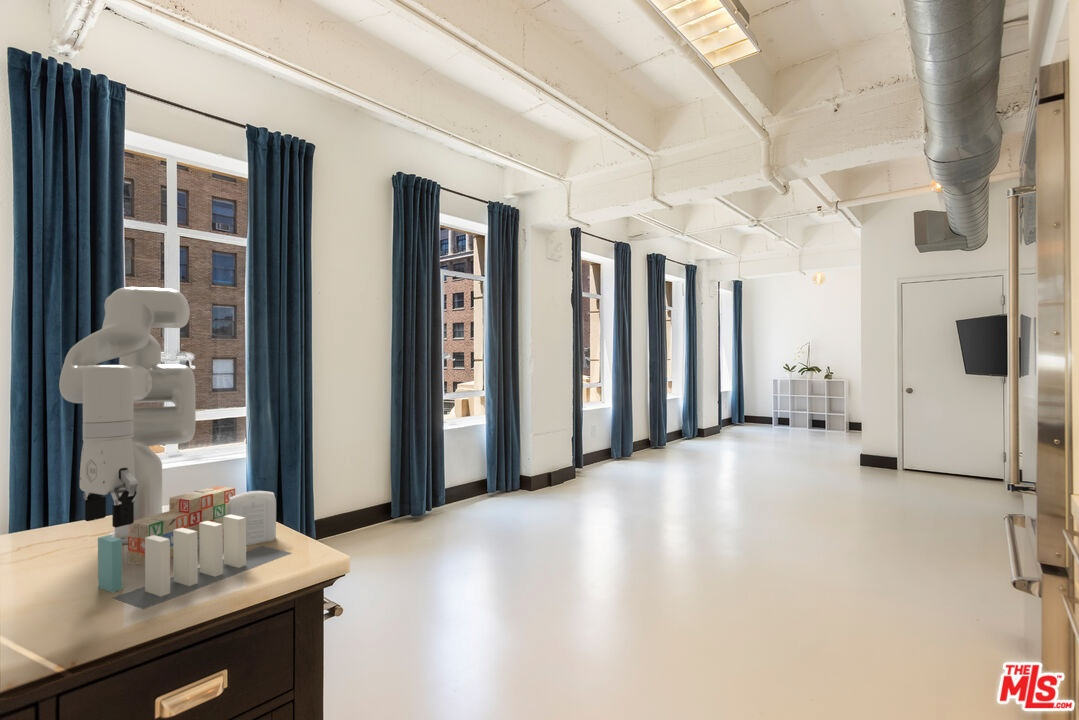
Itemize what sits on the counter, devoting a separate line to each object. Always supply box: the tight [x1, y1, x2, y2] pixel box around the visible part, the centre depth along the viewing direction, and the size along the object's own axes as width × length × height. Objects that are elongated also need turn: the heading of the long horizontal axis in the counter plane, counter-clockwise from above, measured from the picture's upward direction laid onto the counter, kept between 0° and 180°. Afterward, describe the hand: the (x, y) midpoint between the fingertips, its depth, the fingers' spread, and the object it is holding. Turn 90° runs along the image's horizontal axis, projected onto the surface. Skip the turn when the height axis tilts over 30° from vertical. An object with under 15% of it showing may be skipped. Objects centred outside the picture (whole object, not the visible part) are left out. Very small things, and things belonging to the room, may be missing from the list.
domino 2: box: [144, 535, 171, 596], centre depth 101 cm, size 5×2×10 cm, turn 63°
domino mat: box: [112, 545, 292, 610], centre depth 110 cm, size 10×30×1 cm, turn 153°
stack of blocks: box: [127, 486, 236, 566], centre depth 125 cm, size 21×6×12 cm, turn 160°
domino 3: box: [173, 528, 199, 586], centre depth 105 cm, size 5×2×10 cm, turn 63°
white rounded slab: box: [227, 490, 277, 546], centre depth 129 cm, size 10×4×12 cm, turn 123°
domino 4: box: [199, 521, 224, 577], centre depth 110 cm, size 5×2×10 cm, turn 63°
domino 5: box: [223, 514, 247, 568], centre depth 114 cm, size 5×2×10 cm, turn 63°
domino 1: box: [97, 534, 123, 593], centre depth 103 cm, size 5×2×10 cm, turn 63°
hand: (109, 522), depth 102 cm, fingers open, 9 cm apart
